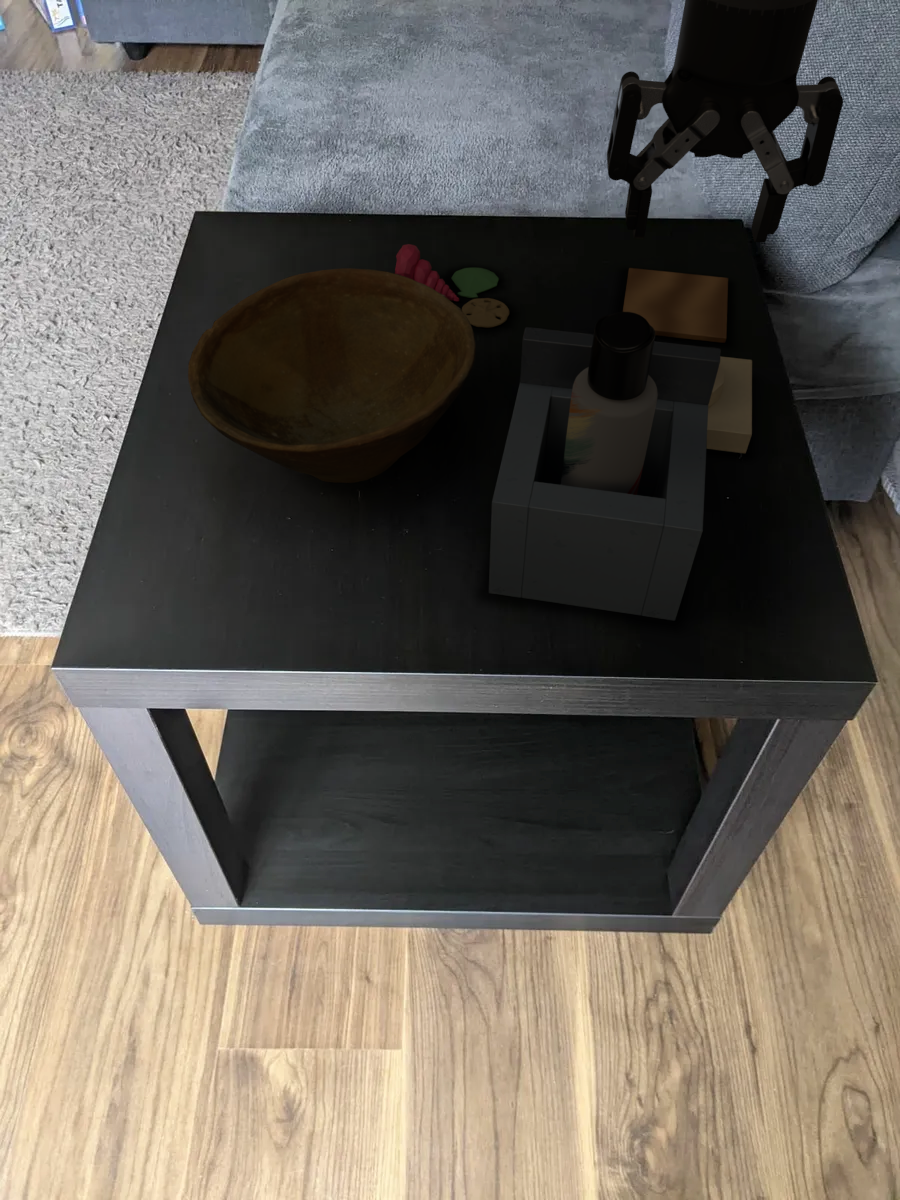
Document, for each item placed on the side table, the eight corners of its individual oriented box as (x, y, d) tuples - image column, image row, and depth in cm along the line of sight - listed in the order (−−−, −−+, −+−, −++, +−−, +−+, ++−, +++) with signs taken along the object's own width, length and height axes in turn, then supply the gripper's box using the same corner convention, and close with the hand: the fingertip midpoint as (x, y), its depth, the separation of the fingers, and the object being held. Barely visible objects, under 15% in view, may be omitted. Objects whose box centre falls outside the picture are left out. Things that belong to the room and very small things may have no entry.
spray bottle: (638, 529, 74) (686, 316, 58) (606, 576, 71) (648, 365, 56) (575, 501, 76) (605, 288, 60) (541, 546, 73) (563, 334, 57)
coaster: (726, 282, 95) (728, 277, 94) (725, 343, 89) (726, 338, 88) (628, 272, 96) (629, 267, 95) (619, 331, 90) (620, 326, 89)
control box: (746, 379, 85) (757, 343, 82) (745, 453, 79) (757, 418, 76) (615, 364, 87) (620, 328, 84) (604, 436, 81) (610, 400, 78)
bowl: (191, 396, 85) (163, 301, 77) (427, 340, 89) (424, 245, 82) (244, 570, 72) (217, 478, 64) (516, 494, 77) (522, 400, 69)
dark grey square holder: (683, 487, 77) (721, 348, 66) (675, 621, 69) (716, 487, 58) (516, 465, 79) (525, 326, 68) (488, 593, 71) (493, 458, 59)
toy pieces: (382, 330, 90) (379, 290, 87) (401, 264, 97) (399, 225, 94) (505, 339, 89) (507, 299, 86) (516, 272, 96) (518, 233, 93)
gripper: (635, 1, 52) (599, 261, 65) (895, 6, 51) (807, 267, 64) (628, -49, 57) (596, 203, 69) (867, -45, 56) (790, 209, 69)
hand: (697, 234), depth 67 cm, fingers open, 8 cm apart
